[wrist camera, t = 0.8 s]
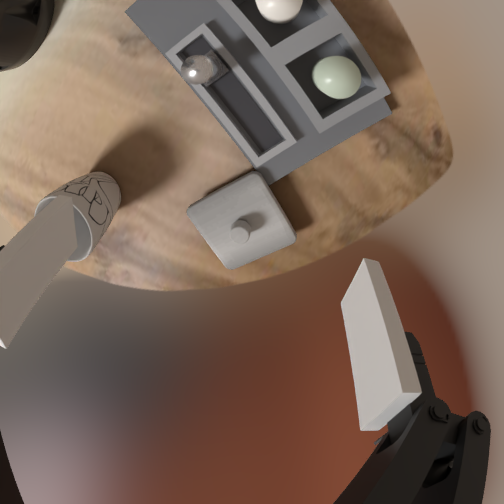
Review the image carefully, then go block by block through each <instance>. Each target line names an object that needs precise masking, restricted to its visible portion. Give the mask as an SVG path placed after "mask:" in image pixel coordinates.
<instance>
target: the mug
mask: <svg viewBox="0 0 504 504" xmlns="http://www.w3.org/2000/svg"><path fill="white" fill-rule="evenodd" d="M58 195H63V196H68V197H72V201H73V212H74V221H75V230H76V238H77V246H78V247H77V248H76V250H75V251H74V252H73V253H72V255H71V256H70V257H69V258H68V260H67V261H71V262H77V261H81V260H83V259H85V258H86V257H88V256H89V255H90V253H91V252H92V251H93V249H94V248H95V246H96V245H97V243H98V242H99V240H100V239H101V238H102V236H103V235H104V233H105V232H106V230H107V228H108V227H109V225H110V223H111V221H112V219H113V217H114V215H115V213H116V211H117V210H118V207H119V205H120V202H121V192H120V188H119V186H118V184H117V182H116V181H115V180H114V179H113V178H112V177H111V176H110V175H108V174H106V173H104V172H92V173H89V174H86V175H84V176H81V177H79V178H76V179H74V180H72V181H70V182H68V183H66V184H64V185H63V186H61V187H59V188H58V189H56V190H55V191H53V192H51V193H50V194H48V195H47V196H45V197H44V198H43V199H42V200H41V201H40V202H39V204H38V205H37V208H36V211H35V216H36V215H37V214H38V213H39V212H40V211H42V210H43V209H44V208H45V207H46V206H47V205H48V204H49V203H50V202H52V201H53V200H54V199H55V198H56V197H57V196H58Z"/></svg>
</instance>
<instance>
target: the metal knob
mask: <svg viewBox="0 0 504 504" xmlns="http://www.w3.org/2000/svg"><path fill="white" fill-rule="evenodd" d="M229 71H231V70H230V69H229V68H228V66H227V65H226V64H225V63H224V62H223V60H222V59H221V58H220V57H219V55H218V54H217V53H216V52H215V51H214V50H211V51H209V52H208V53H207V54H205V55H204V56H201V55H194V56H191V57H189V58H187V59H186V60H185V61H184V62H183V64H182V66H181V75H182V77H183V79H184V80H185V81H186V82H188V83H190V84H194V85H197V84H201V83H203V84H204V85H205V87H209V86H210V85H211V84H213V83H214V82H215V81H217V80H218V79H220V78H221V77H222V76H224V75H225V74H226V73H228V72H229Z"/></svg>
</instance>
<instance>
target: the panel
mask: <svg viewBox="0 0 504 504" xmlns="http://www.w3.org/2000/svg"><path fill="white" fill-rule="evenodd" d="M125 13H126V14H127V15H128V16H129V17H130V18H131V19H132V21H133V22H134V23H135V24H136V25H137V26H138V27H139V28H140V29H141V31H142V32H143V33H144V34H145V35H146V36H147V37H148V38H149V40H150V41H151V42H152V43H153V44H154V45H155V46H156V47H157V49H158V50H159V51H160V52H161V53H162V54H163V56H164V57H165V58H166V59H167V60H168V61H169V63H170V64H171V65H172V66H173V67H174V68H175V70H176V71H177V72H178V73H179V74H180V76H181V77H182V75H181V66H182V64H183V62H184V61H185V60H186V59H187V58H189V57H191V56H194V55H201V56H204V55H205V54H207V53H208V52H209V51H211V50H214V51H215V52H216V53H217V54H218V55H219V57H220V58H221V59H222V60H223V62H224V63H225V64H226V65H227V66H228V68H229V69H230V70H231V71H229V72H228V73H226V74H225V75H224V76H222V77H221V78H220V79H218V80H217V81H215V82H214V83H213V84H211V85H210V86H209V87H205V85H204V84H203V83H201V84H197V85H194V84H190V83H188V82H186V83H187V84H188V85H189V86H190V87H191V89H192V90H193V91H194V92H195V94H196V95H197V96H198V97H199V98H200V100H201V101H202V102H203V103H204V105H205V106H206V107H207V108H208V109H209V111H210V112H211V113H212V114H213V116H214V117H215V118H216V119H217V121H218V122H219V123H220V124H221V126H222V127H223V128H224V129H225V131H226V132H227V133H228V135H229V136H230V137H231V138H232V140H233V141H234V142H235V143H236V145H237V146H238V147H239V149H240V150H241V151H242V152H243V154H244V155H245V156H246V158H247V159H248V160H249V162H250V163H251V164H252V165H253V167H254V168H255V169H256V171H258V172H259V173H261V174H262V176H263V178H264V179H265V181H266V183H267V184H268V186H269V185H271V184H272V183H274V182H275V181H277V180H279V179H280V178H282V177H284V176H285V175H287V174H289V173H290V172H292V171H294V170H295V169H297V168H298V167H300V166H302V165H303V164H305V163H307V162H309V161H310V160H312V159H314V158H315V157H317V156H319V155H320V154H322V153H324V152H325V151H327V150H329V149H331V148H332V147H334V146H336V145H337V144H339V143H341V142H343V141H344V140H346V139H348V138H350V137H351V136H353V135H355V134H357V133H358V132H360V131H362V130H364V129H365V128H367V127H369V126H371V125H373V124H374V123H376V122H378V121H380V120H382V119H383V118H385V117H387V116H389V115H391V114H392V112H391V110H390V108H389V106H388V104H387V102H386V101H385V99H384V97H385V96H387V95H389V94H391V92H390V90H389V88H388V86H387V85H386V83H385V81H384V79H383V78H382V76H381V74H380V73H379V71H378V69H377V68H376V66H375V64H374V63H373V61H372V60H371V58H370V56H369V55H368V53H367V52H366V50H365V49H364V47H363V46H362V44H361V43H360V41H359V40H358V38H357V37H356V35H355V34H354V32H353V31H352V29H351V28H350V27H349V25H348V24H347V22H346V21H345V20H344V18H343V17H342V16H341V14H340V13H339V12H338V10H337V9H336V8H335V6H334V5H333V4H332V2H331V1H330V0H303V2H302V6H301V8H300V11H299V13H298V15H297V17H296V18H295V19H294V20H292V21H291V22H288V23H285V24H275V23H271V22H269V21H267V20H266V19H265V18H264V17H263V16H262V15H261V13H260V11H259V9H258V7H257V4H256V1H255V0H137V1H136V2H135V3H134V4H132V5H131V6H130V7H129V8H128V9H127V10H126V11H125ZM330 56H343V57H346V58H348V59H350V60H352V61H353V62H354V63H355V64H356V65H357V67H358V68H359V71H360V74H361V84H360V87H359V89H358V90H357V92H356V93H355V94H354V95H352V96H350V97H348V98H344V99H336V98H332V97H330V96H328V95H326V94H325V93H323V92H322V91H321V90H319V89H318V88H317V87H316V86H315V84H314V83H313V80H312V76H311V73H312V68H313V66H314V64H315V63H316V62H317V61H318V60H320V59H322V58H324V57H330ZM182 78H183V77H182Z"/></svg>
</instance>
